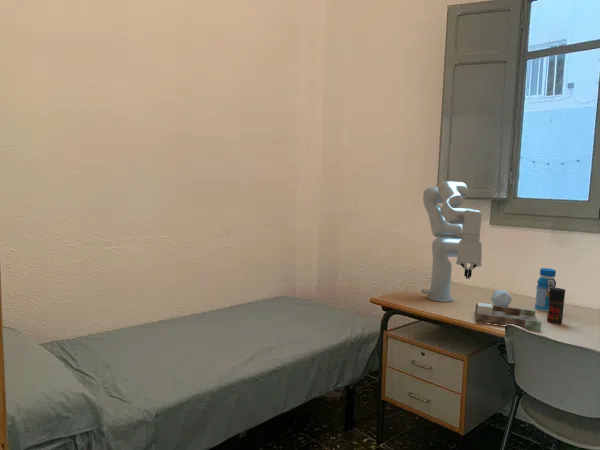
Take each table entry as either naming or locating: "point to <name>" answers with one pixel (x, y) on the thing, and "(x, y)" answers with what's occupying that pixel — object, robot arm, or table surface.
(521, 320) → the box
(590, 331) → the table surface
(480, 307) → the pale blue block
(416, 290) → the table surface
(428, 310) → the table surface
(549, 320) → the deodorant
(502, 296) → the die
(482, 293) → the table surface
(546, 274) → the beverage bottle
